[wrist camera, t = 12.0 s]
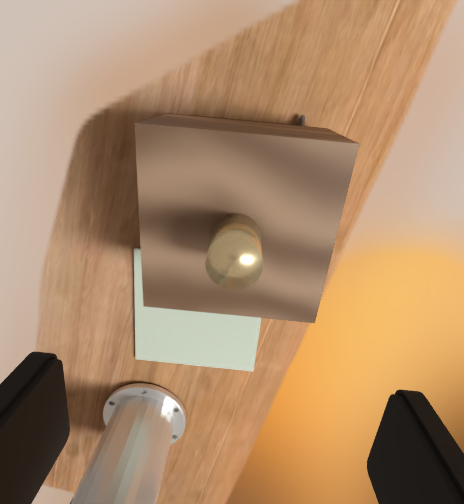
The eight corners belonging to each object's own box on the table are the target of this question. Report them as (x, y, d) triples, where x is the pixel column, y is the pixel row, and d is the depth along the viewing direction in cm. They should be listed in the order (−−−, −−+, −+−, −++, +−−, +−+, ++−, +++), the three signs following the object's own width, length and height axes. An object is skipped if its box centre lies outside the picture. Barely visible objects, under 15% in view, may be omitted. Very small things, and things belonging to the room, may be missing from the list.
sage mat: (253, 369, 46) (253, 371, 46) (136, 357, 46) (135, 359, 46) (269, 261, 40) (269, 262, 40) (134, 247, 40) (133, 248, 40)
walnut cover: (299, 267, 40) (326, 363, 26) (168, 255, 40) (125, 343, 26) (327, 128, 33) (385, 156, 19) (167, 113, 33) (107, 130, 19)
